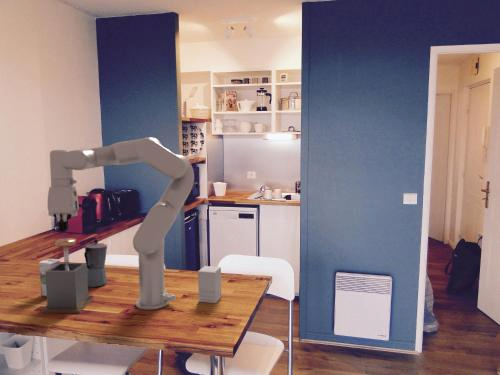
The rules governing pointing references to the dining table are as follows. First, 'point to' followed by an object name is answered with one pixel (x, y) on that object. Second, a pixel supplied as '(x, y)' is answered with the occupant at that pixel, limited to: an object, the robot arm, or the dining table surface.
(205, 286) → the supplement box
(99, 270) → the moka pot
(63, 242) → the plunger
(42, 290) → the syrup box
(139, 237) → the robot arm
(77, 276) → the grey square canister
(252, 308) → the dining table surface
